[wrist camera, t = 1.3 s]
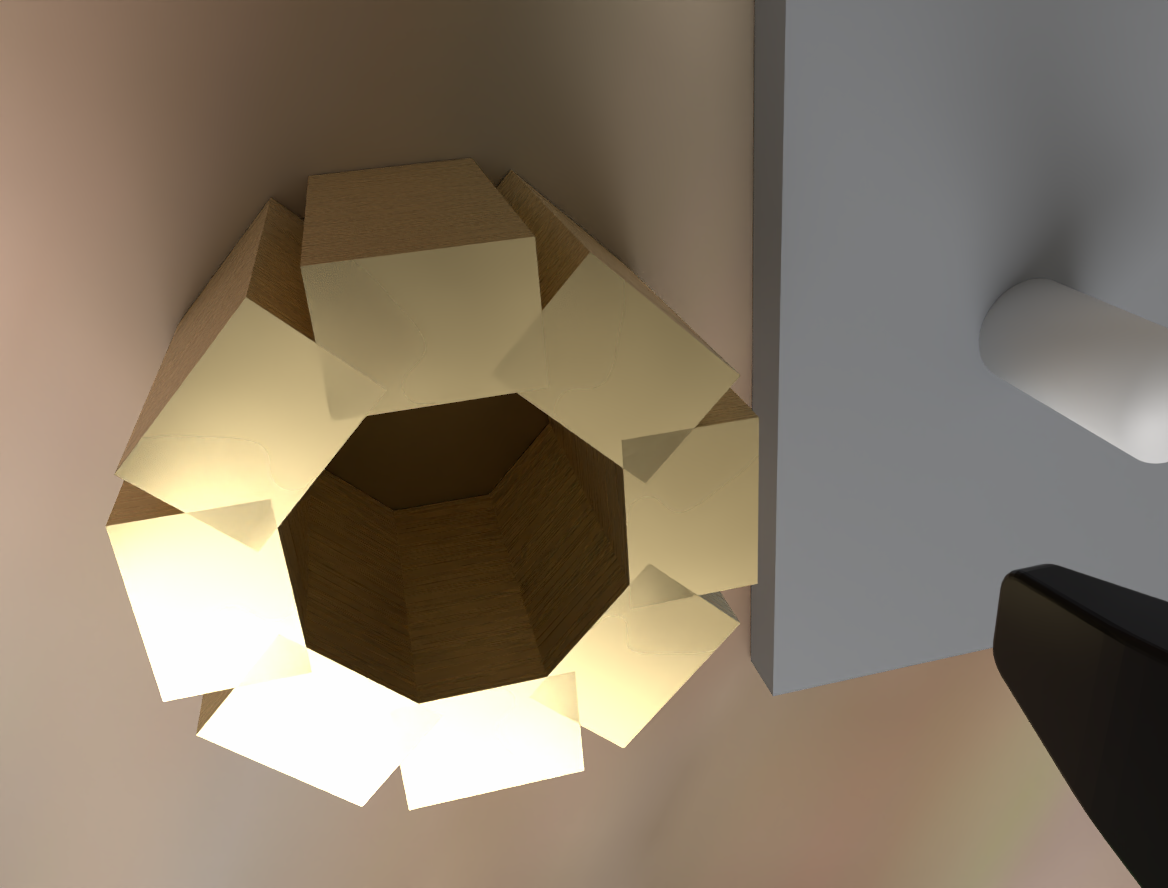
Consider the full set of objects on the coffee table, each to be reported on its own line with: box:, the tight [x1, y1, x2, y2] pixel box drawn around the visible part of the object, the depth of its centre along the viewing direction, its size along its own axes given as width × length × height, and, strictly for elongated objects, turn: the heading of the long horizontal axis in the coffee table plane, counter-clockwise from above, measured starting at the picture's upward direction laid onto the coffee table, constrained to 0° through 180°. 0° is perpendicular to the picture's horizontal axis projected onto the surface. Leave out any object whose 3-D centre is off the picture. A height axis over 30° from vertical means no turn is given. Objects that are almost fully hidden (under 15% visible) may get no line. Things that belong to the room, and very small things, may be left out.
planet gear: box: [106, 158, 759, 810], centre depth 12 cm, size 6×6×4 cm
